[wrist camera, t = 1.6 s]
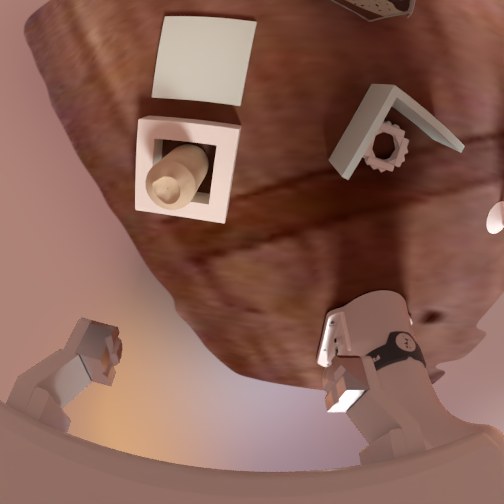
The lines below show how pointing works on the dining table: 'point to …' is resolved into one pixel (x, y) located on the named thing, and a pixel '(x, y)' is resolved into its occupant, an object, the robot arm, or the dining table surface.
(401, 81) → the dining table surface
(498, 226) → the champagne flute
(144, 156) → the pocket block
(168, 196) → the candle
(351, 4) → the food container
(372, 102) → the l-shaped corner panel
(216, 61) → the cream tile
